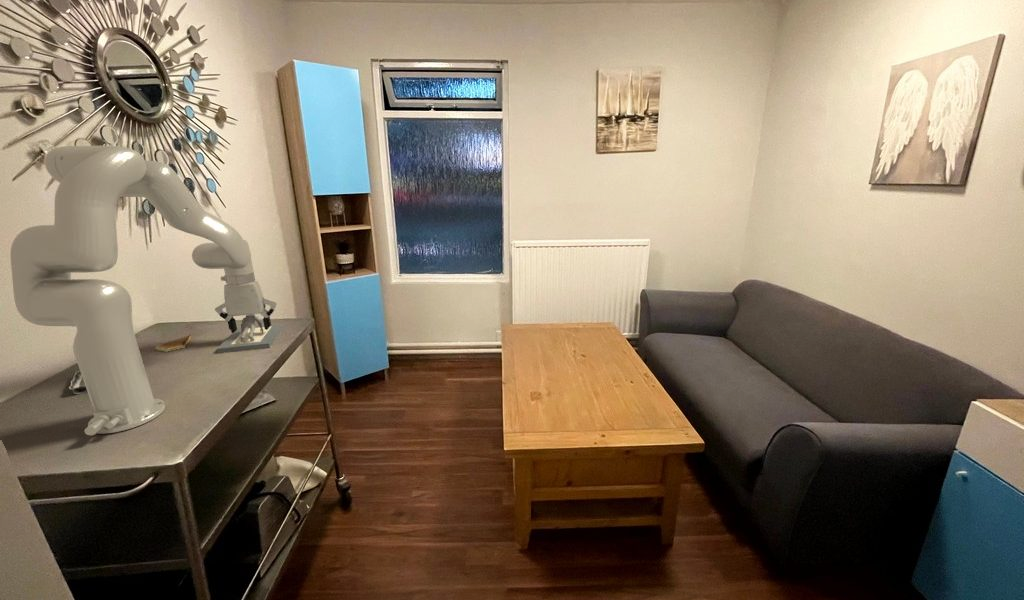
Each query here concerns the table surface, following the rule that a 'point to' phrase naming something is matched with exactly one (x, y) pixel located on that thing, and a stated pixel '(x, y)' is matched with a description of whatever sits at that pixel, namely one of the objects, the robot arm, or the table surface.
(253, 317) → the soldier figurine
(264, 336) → the base plate
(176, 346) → the shard
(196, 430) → the table surface
